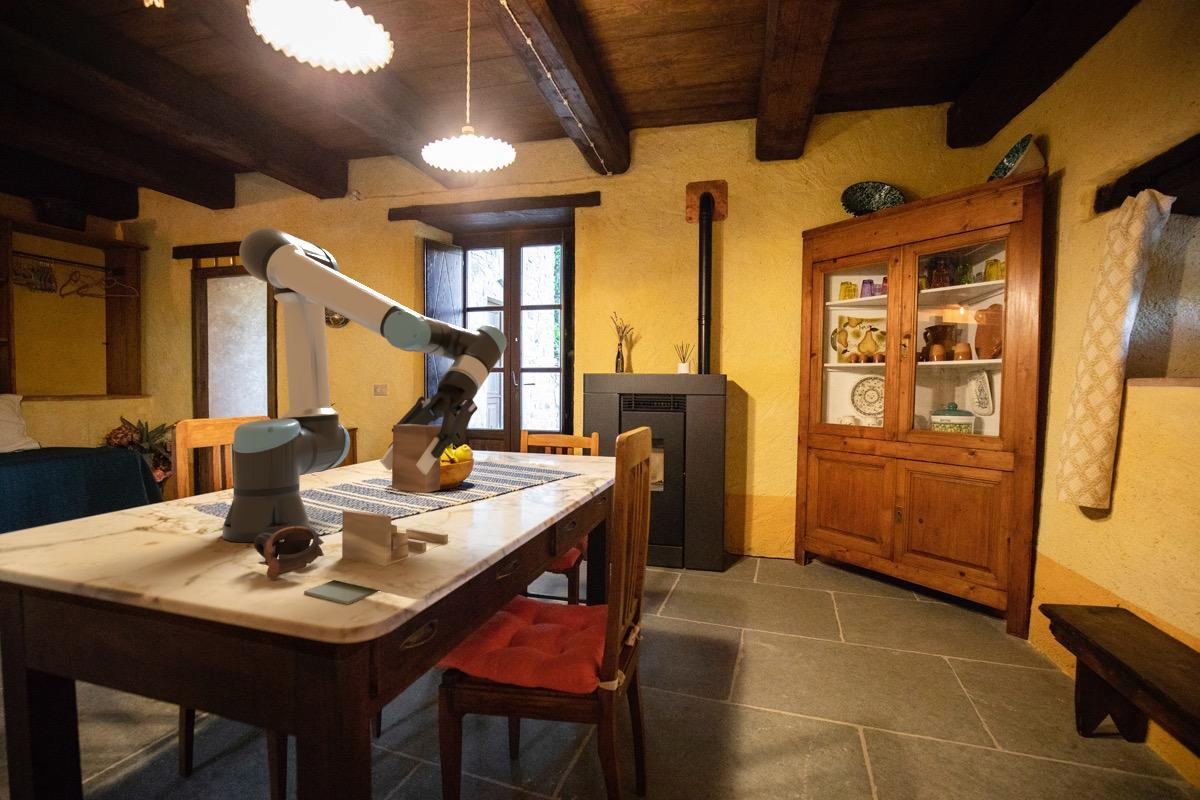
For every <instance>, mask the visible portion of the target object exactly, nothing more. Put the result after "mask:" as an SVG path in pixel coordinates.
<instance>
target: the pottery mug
mask: <svg viewBox="0 0 1200 800" xmlns="http://www.w3.org/2000/svg"><path fill="white" fill-rule="evenodd" d="M283 539H284V540H283ZM281 540H282V541H281ZM311 541H312V543H311ZM324 543H325V542H324V540H323V539H321V538H320V537H319V533H318V532H316V531H315V530H314V529H313V528H311V527H309V528H307V527H303V526H296V527H295V526H292V527H287V528H284V529H281V530H279V531H277V532H276V533H274V534H271V533H262V534H260V535H259V536H258V537H256V538H255V541H254V542H253V547H254V549H255V550H256V552H257V553H258V554H260V556H261V557H262V558H264V560H265V564H268V565H267V566H268V567H267V570H266V577H267V578H268V579H270V580H273V581H276V580H277V579H278V578H279V576H282V575H286V574H289V573H291V572H294V571H297V570H300V569H304V568H306V567H307V565H308V564H312V563H313V562H314V561H315V560H317V558H318V557H324V555H325V554H324V552H323V549H322V548H321V546H322V545H323V544H324Z"/></svg>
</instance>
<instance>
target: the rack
mask: <svg viewBox="0 0 1200 800" xmlns="http://www.w3.org/2000/svg"><path fill="white" fill-rule="evenodd" d="M341 513H342V517H341V519H342V526H341V527H342V529H341V530H342V531H341V532H342V533H341V534H342V535H341V538H342V541H341V542H342V543H341V546H342V547H341V552H342V554H341V557H342V558H343V559H348V560H353V561H357V562H362V563H368V564H372V565H376V566H377V565H378V566H381V567H382V566H383V567H387V566H390V565H393V564H395V563H398V562H400V561H403V560H406V559H407V558H411V557H413V556H416V555H419V554H421V553H424V552H427V551H429V550H432V549H435V548H437V547H439V546H442V545H445V544H447V543H451V542H452V541H451V540H449V534H448V533H444V532H437V531H432V530H424V529H418V528H411V527H409V528H406V529H405V532H398V526H397V525H395V524H392V515H388V514H383V513H382V514H381V513H374V512H369V511H368V512H367V511H361V510H354V509H345V510H342V512H341Z"/></svg>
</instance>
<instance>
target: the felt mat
mask: <svg viewBox="0 0 1200 800" xmlns="http://www.w3.org/2000/svg"><path fill="white" fill-rule="evenodd" d="M378 591H379V592H381V589H380V590H379V589H376V588H371V587H367V586H362V585H358V584H354V583H353V584H352V583H349V582H346V581H345V582H344V581H340V580H336V579H334V580H333V579H332V580H330V581H327V582H325V583H322V584H318V585H317V586H314V587H312V588H308V589H305V590H304V595H309V596H313V597H317V598H321V599H325V600H327V601H328V600H329V601H332V602H337V603H341V604H344V605H351V604H353V603H355V602H358V601H359V600H362V599H365V598H367V597H369V596H371V595H374V594H376V593H379V592H378ZM366 596H367V597H366ZM364 597H365V598H364ZM357 600H358V601H357ZM352 602H353V603H352ZM350 603H351V604H350Z"/></svg>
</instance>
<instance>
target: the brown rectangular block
mask: <svg viewBox="0 0 1200 800" xmlns="http://www.w3.org/2000/svg"><path fill="white" fill-rule="evenodd" d="M392 426H393V427H392V429H393V432H392V442H393V463H392V469H391V473H392V474H391V489H392V490H400V491H401V490H402V491H409V492H416V493H420V494H421V493H423V494H426V493H430V492H434V491H435V492H436V491H440V490H441V456H442V455H441V456H440V457H439V458H437V459H436V461H435V462H434V464H433V466H432V467H431V469H430V470H429V472H428V473H427V475H425V474H423V473H422V472H421V471H420V470H419V468H418V467H417V466H416V464H417V463H418V461H419V460H420V458H421V457H422V455H423V454H424V452H425V451H426V449H427V448H428V446H429V445H430V443H431V442H432V441H433V439H434V438H438V439H439V440H440V438H439V436H438V435H437V434H439V433H440V431H441V426H442V425H432V424H431V425H429V424H428V425H417V424H401V425H396V424H393V425H392Z"/></svg>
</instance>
